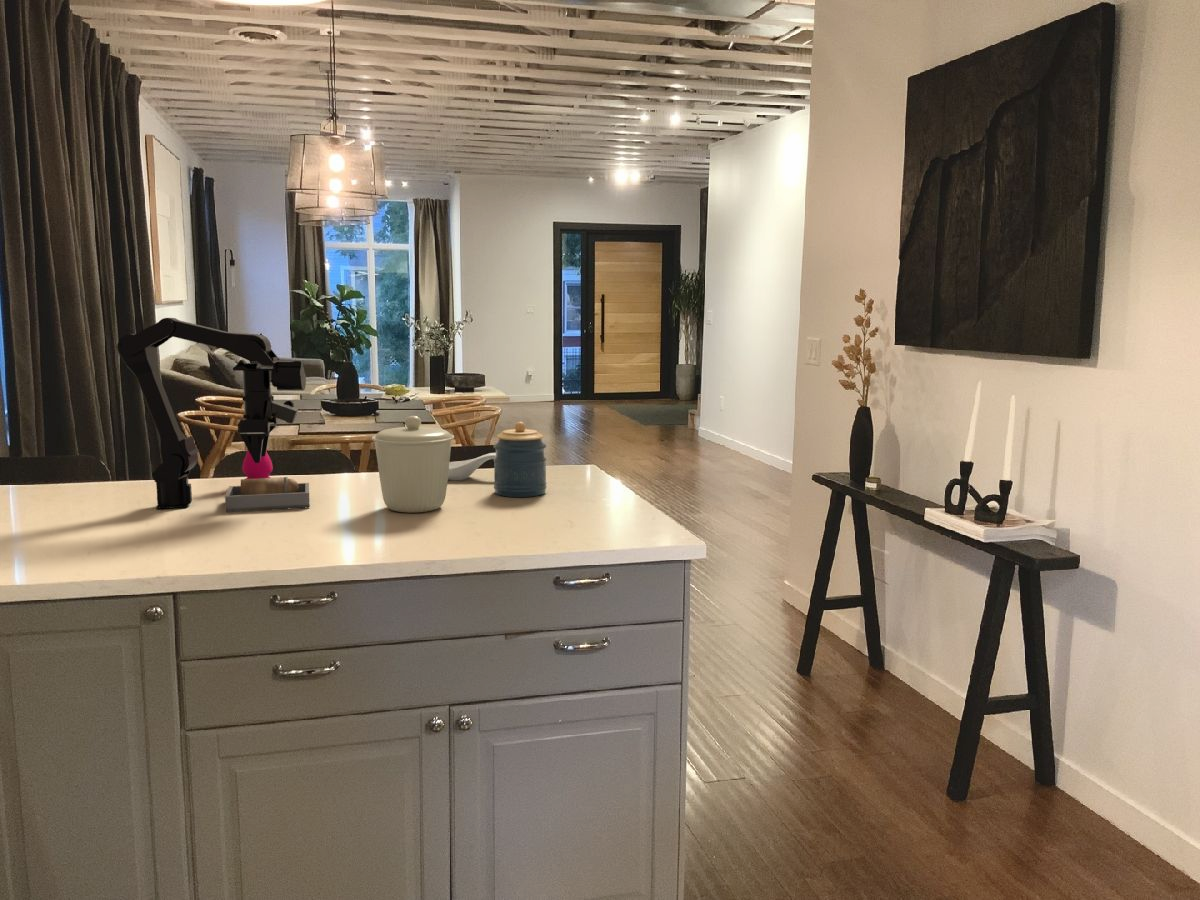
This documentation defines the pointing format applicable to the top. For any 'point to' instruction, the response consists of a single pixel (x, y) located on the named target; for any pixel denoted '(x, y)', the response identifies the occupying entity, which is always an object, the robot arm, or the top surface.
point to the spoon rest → (466, 467)
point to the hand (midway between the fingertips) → (260, 459)
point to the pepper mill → (257, 467)
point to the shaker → (268, 486)
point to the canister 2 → (520, 463)
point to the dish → (266, 500)
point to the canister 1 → (413, 466)
